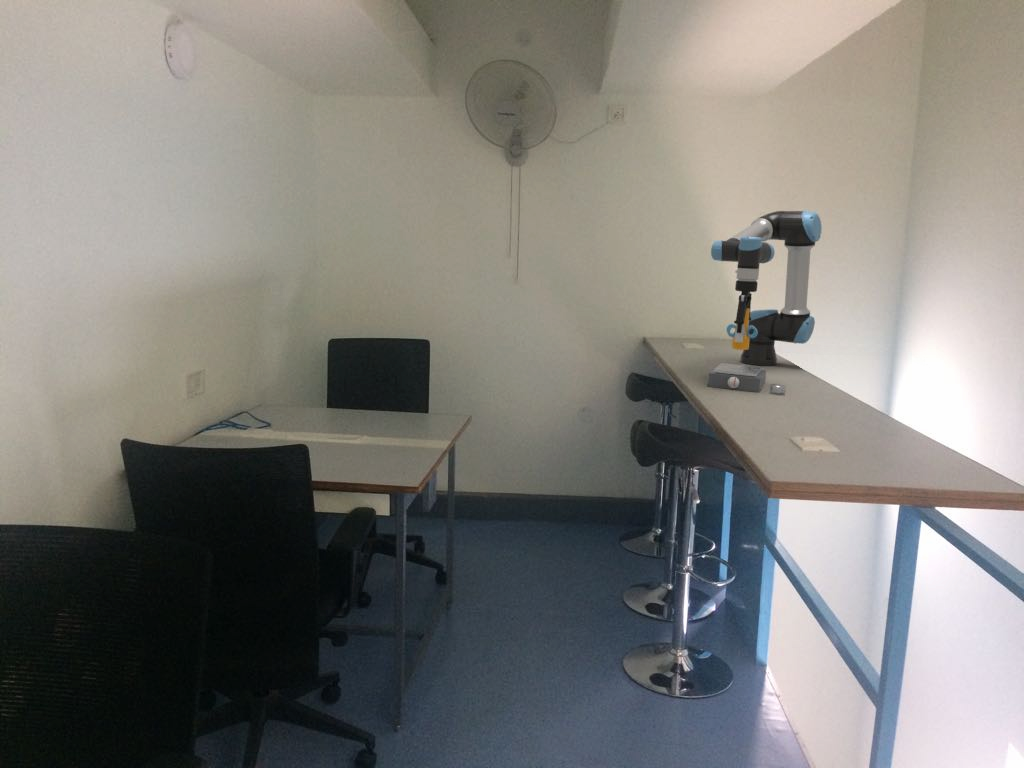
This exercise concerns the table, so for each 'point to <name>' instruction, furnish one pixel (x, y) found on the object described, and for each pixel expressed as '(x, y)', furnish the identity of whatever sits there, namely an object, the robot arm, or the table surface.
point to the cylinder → (746, 335)
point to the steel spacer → (777, 389)
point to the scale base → (737, 381)
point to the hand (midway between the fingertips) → (741, 339)
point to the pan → (738, 369)
